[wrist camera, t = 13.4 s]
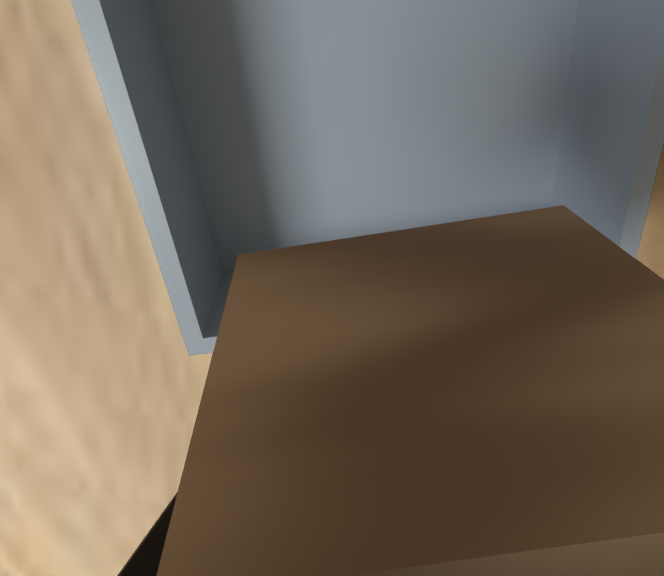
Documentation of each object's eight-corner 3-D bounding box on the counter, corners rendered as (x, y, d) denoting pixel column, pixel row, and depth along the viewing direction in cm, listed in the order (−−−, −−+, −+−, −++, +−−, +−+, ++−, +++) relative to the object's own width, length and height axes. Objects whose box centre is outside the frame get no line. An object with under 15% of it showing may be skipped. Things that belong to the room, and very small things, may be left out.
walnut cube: (563, 205, 7) (952, 494, 3) (537, 435, 10) (725, 772, 5) (238, 254, 7) (148, 603, 3) (295, 470, 10) (292, 827, 6)
